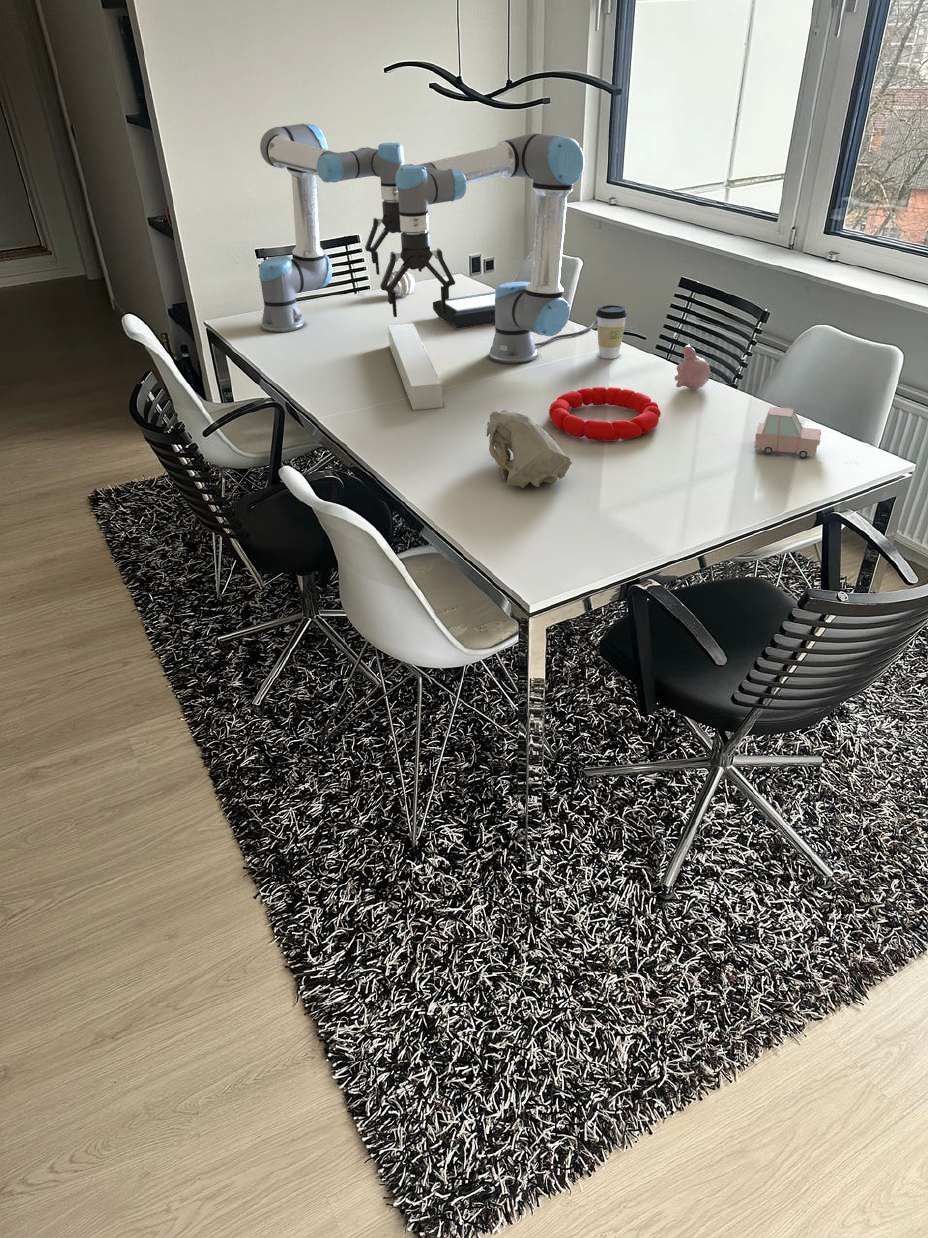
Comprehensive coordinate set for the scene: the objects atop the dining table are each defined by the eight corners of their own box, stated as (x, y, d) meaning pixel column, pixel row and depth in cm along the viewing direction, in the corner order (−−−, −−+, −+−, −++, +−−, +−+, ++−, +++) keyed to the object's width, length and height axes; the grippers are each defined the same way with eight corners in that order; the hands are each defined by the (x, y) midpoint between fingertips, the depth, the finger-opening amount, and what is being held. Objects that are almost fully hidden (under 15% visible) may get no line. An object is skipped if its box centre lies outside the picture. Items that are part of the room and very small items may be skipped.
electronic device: (454, 313, 312) (432, 299, 327) (455, 331, 315) (433, 317, 330) (535, 300, 322) (510, 288, 337) (534, 318, 326) (510, 305, 341)
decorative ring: (589, 435, 224) (684, 402, 234) (527, 398, 247) (617, 369, 256) (589, 461, 229) (683, 427, 238) (529, 422, 251) (617, 393, 260)
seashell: (379, 296, 357) (377, 270, 351) (412, 290, 362) (411, 264, 357) (389, 302, 349) (388, 275, 343) (423, 296, 355) (422, 270, 349)
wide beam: (389, 346, 304) (387, 325, 300) (414, 344, 305) (413, 323, 301) (412, 409, 255) (411, 386, 251) (442, 407, 256) (441, 383, 252)
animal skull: (496, 517, 219) (521, 479, 201) (463, 429, 225) (484, 384, 207) (557, 503, 225) (586, 465, 206) (523, 417, 231) (549, 373, 212)
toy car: (816, 461, 219) (824, 423, 213) (752, 454, 224) (758, 416, 218) (817, 446, 226) (825, 408, 221) (755, 439, 231) (761, 402, 225)
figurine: (665, 387, 264) (669, 347, 257) (693, 380, 268) (698, 340, 261) (686, 396, 257) (690, 355, 250) (714, 388, 262) (720, 348, 255)
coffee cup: (626, 360, 285) (629, 312, 276) (595, 360, 285) (598, 313, 277) (622, 350, 293) (625, 303, 284) (592, 351, 293) (594, 304, 285)
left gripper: (354, 204, 269) (361, 277, 281) (436, 199, 272) (439, 271, 284) (352, 200, 275) (359, 272, 287) (432, 195, 278) (435, 266, 290)
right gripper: (368, 237, 229) (375, 320, 241) (464, 231, 232) (466, 313, 245) (366, 231, 235) (373, 313, 247) (459, 225, 239) (461, 306, 251)
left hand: (399, 272), depth 285 cm, fingers open, 13 cm apart
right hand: (419, 313), depth 246 cm, fingers open, 13 cm apart
